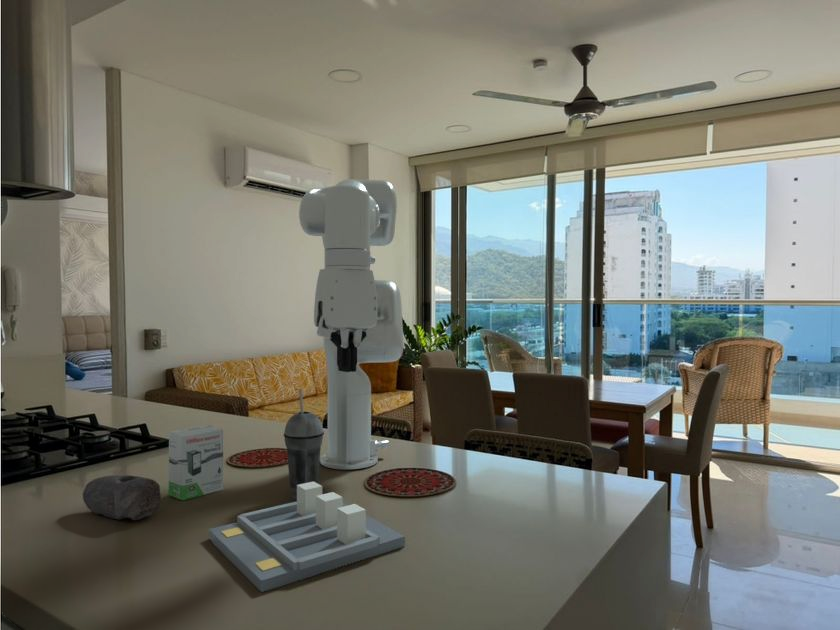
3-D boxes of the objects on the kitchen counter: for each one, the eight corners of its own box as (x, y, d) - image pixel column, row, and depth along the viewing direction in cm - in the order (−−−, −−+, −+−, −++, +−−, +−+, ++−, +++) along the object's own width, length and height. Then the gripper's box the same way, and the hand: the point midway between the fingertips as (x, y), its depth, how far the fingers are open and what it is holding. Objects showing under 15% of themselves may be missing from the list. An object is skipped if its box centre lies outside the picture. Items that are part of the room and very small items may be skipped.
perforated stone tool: (71, 515, 97) (71, 474, 97) (99, 505, 102) (99, 465, 102) (138, 529, 92) (138, 485, 91) (164, 517, 97) (164, 476, 96)
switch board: (335, 506, 102) (335, 492, 102) (406, 547, 85) (406, 530, 85) (208, 538, 88) (208, 521, 88) (262, 593, 72) (262, 573, 72)
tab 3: (354, 533, 86) (354, 503, 86) (365, 540, 84) (365, 509, 84) (336, 538, 84) (336, 508, 84) (347, 546, 82) (347, 514, 82)
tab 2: (333, 520, 91) (333, 491, 91) (342, 526, 89) (342, 497, 89) (315, 524, 89) (315, 495, 89) (325, 531, 87) (325, 501, 87)
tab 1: (313, 508, 96) (313, 481, 96) (322, 513, 94) (322, 486, 94) (296, 512, 94) (296, 484, 94) (305, 518, 92) (305, 489, 92)
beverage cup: (331, 492, 109) (331, 386, 108) (311, 505, 102) (311, 392, 102) (297, 487, 111) (296, 384, 111) (275, 500, 105) (275, 389, 104)
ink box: (181, 501, 104) (180, 436, 103) (167, 495, 107) (167, 431, 107) (224, 489, 110) (224, 427, 110) (210, 484, 114) (210, 424, 113)
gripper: (372, 264, 105) (372, 366, 105) (296, 260, 96) (296, 372, 96) (396, 262, 99) (396, 370, 99) (317, 258, 90) (317, 377, 90)
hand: (347, 370), depth 98 cm, fingers closed
